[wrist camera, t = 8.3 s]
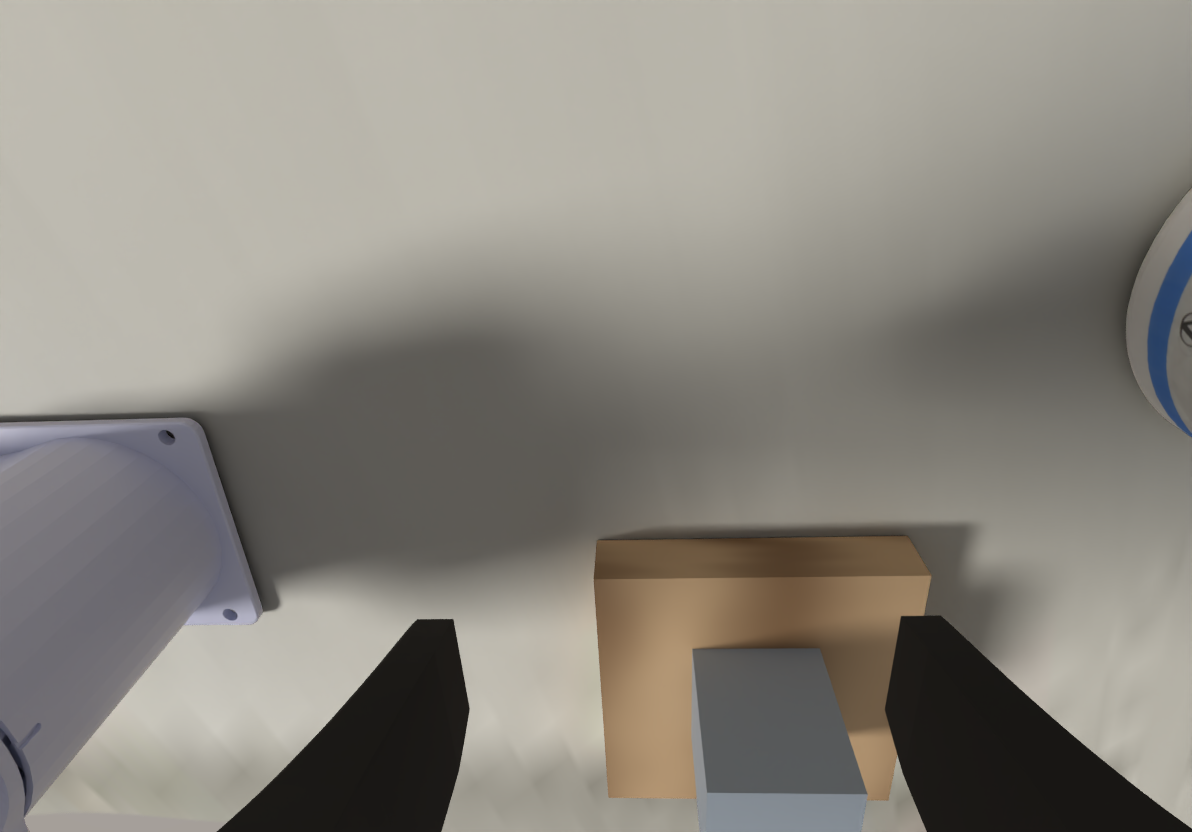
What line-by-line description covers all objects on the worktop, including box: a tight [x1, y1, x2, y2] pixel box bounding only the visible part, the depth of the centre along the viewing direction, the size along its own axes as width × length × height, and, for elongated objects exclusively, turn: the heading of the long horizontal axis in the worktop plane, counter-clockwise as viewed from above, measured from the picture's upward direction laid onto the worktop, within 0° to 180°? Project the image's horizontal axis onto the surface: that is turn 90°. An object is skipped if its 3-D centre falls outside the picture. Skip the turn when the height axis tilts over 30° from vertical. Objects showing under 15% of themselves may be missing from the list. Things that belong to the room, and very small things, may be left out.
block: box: [691, 648, 868, 832], centre depth 21 cm, size 4×4×5 cm
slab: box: [594, 536, 931, 800], centre depth 24 cm, size 10×10×2 cm
